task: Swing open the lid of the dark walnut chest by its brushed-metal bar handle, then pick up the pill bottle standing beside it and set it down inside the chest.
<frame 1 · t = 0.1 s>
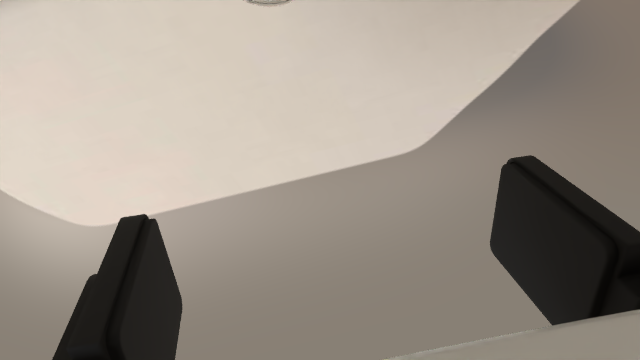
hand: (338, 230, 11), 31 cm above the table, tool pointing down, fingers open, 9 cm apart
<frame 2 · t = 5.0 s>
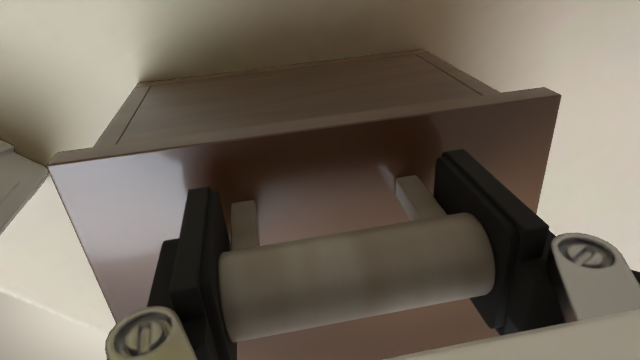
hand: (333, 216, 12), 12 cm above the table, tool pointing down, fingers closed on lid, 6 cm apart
chest: (301, 196, 25), on the table
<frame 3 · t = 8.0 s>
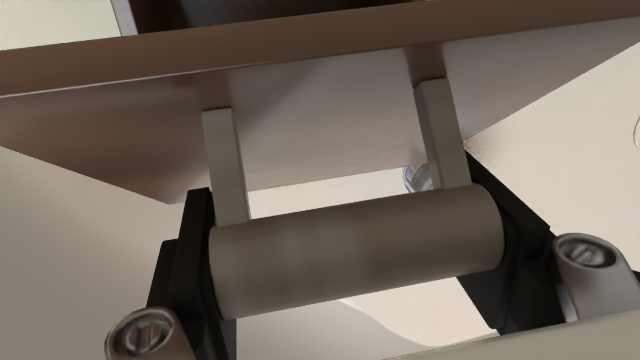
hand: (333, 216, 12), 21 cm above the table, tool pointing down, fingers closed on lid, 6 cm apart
pill bottle: (426, 170, 38), on the table
chest: (267, 5, 29), on the table
lid: (319, 200, 16), point 18 cm above the table, hinge at 52.6°, touching gripper
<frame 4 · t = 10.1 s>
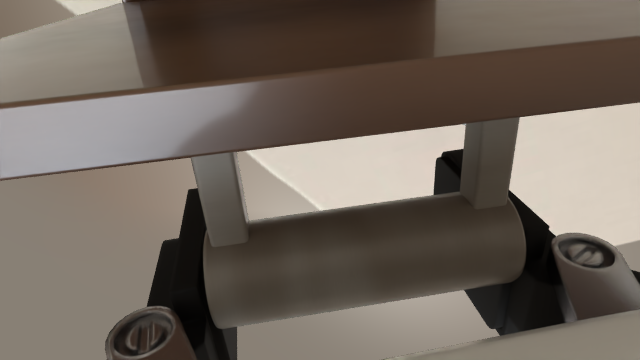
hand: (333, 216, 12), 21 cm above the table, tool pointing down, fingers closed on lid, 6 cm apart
lid: (315, 95, 13), point 19 cm above the table, hinge at 86.4°, touching gripper
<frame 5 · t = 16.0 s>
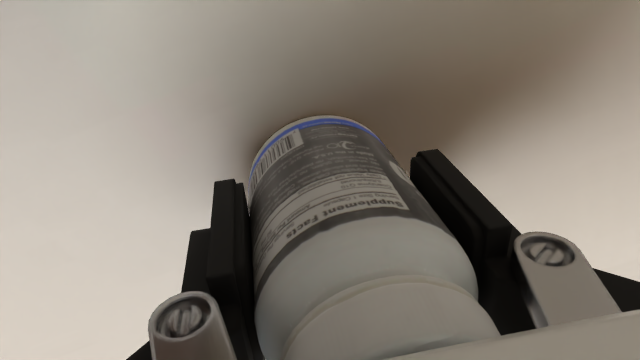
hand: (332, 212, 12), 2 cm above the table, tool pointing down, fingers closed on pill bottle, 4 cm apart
pill bottle: (318, 176, 14), on the table, touching gripper
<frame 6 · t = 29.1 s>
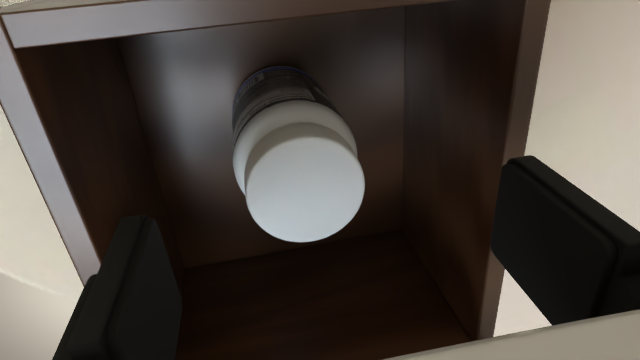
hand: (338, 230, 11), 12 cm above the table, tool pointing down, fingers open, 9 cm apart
pill bottle: (279, 110, 21), point 1 cm above the table, touching chest
chest: (280, 133, 23), on the table
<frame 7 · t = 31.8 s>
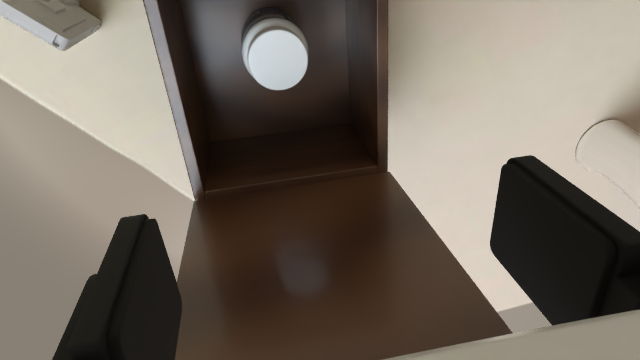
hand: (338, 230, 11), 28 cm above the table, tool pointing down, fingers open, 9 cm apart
beer glass: (599, 144, 48), on the table
pill bottle: (269, 37, 35), point 1 cm above the table, touching chest
chest: (271, 53, 37), on the table
lid: (314, 286, 25), point 19 cm above the table, hinge at 86.5°
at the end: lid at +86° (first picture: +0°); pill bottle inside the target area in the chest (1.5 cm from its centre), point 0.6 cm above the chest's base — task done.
